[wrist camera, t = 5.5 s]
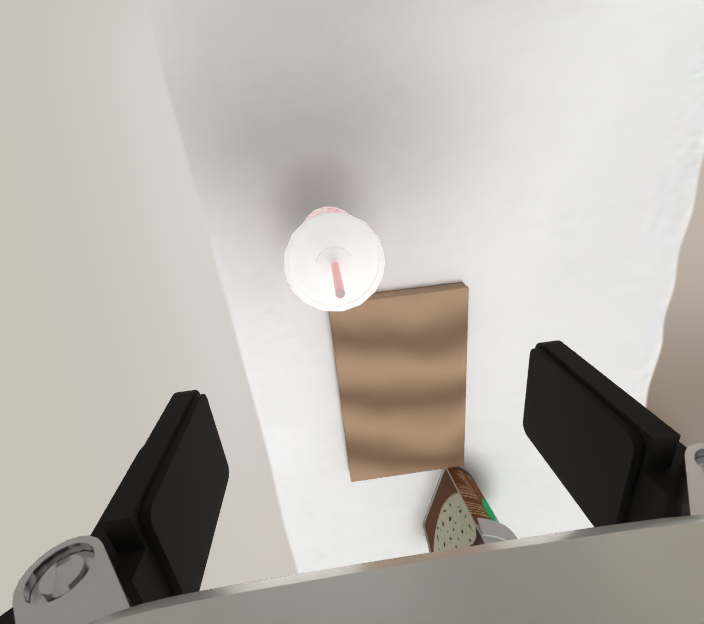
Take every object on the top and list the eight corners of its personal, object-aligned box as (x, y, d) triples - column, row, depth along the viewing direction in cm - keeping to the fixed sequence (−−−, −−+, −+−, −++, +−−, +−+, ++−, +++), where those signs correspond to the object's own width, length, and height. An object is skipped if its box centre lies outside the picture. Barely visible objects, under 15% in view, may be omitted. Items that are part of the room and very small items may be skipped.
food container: (466, 535, 47) (503, 628, 38) (419, 532, 46) (445, 627, 37) (500, 457, 42) (552, 542, 33) (448, 453, 41) (487, 538, 32)
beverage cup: (361, 190, 30) (397, 219, 17) (370, 264, 32) (408, 339, 19) (283, 202, 30) (261, 241, 17) (299, 276, 32) (290, 359, 19)
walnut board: (327, 298, 33) (328, 305, 32) (462, 282, 34) (468, 287, 32) (349, 470, 41) (351, 482, 40) (458, 455, 42) (463, 465, 40)
